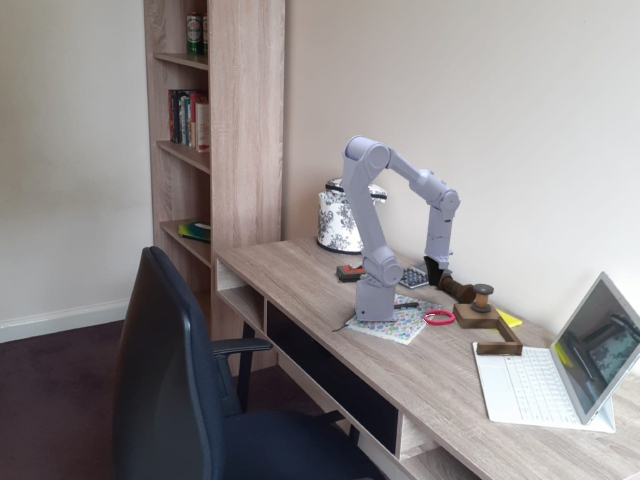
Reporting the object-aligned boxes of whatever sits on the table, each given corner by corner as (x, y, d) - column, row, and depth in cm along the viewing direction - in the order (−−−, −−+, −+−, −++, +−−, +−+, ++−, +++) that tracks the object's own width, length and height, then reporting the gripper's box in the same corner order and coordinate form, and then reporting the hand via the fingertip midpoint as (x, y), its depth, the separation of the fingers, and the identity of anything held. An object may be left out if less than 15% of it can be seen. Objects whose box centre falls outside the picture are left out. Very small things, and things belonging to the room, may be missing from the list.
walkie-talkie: (341, 287, 161) (408, 281, 167) (342, 272, 160) (409, 266, 165) (331, 274, 169) (395, 269, 175) (332, 260, 167) (396, 255, 173)
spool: (473, 312, 143) (477, 291, 141) (468, 304, 148) (471, 283, 146) (493, 313, 143) (496, 292, 142) (486, 304, 148) (490, 283, 146)
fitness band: (445, 313, 149) (446, 307, 148) (459, 323, 144) (459, 317, 143) (417, 317, 146) (418, 312, 145) (430, 328, 141) (431, 322, 140)
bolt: (436, 288, 167) (469, 308, 154) (423, 282, 165) (457, 302, 152) (446, 270, 167) (480, 289, 154) (434, 263, 164) (468, 282, 151)
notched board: (477, 354, 129) (479, 344, 128) (452, 312, 148) (453, 303, 147) (521, 355, 130) (523, 345, 129) (490, 313, 149) (492, 304, 148)
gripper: (463, 244, 139) (456, 297, 144) (447, 225, 153) (441, 273, 157) (433, 244, 139) (428, 296, 143) (420, 224, 152) (415, 273, 157)
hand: (433, 284), depth 150 cm, fingers closed
